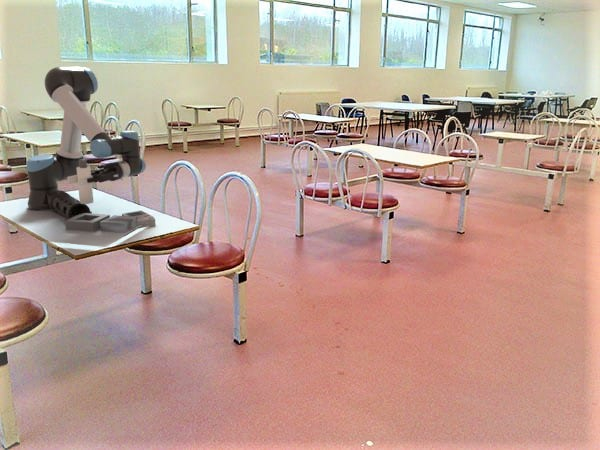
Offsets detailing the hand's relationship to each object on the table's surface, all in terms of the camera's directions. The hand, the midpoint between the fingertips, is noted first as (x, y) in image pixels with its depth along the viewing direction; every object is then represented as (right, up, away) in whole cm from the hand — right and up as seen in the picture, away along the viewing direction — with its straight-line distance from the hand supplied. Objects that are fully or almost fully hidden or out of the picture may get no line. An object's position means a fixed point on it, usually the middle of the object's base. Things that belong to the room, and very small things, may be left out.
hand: (74, 181), depth 198 cm
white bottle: (+2, -8, +7) cm, 11 cm away
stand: (+14, -19, +9) cm, 26 cm away
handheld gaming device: (+18, -16, +21) cm, 33 cm away
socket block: (+1, -19, +11) cm, 22 cm away
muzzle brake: (-10, -9, +31) cm, 34 cm away
